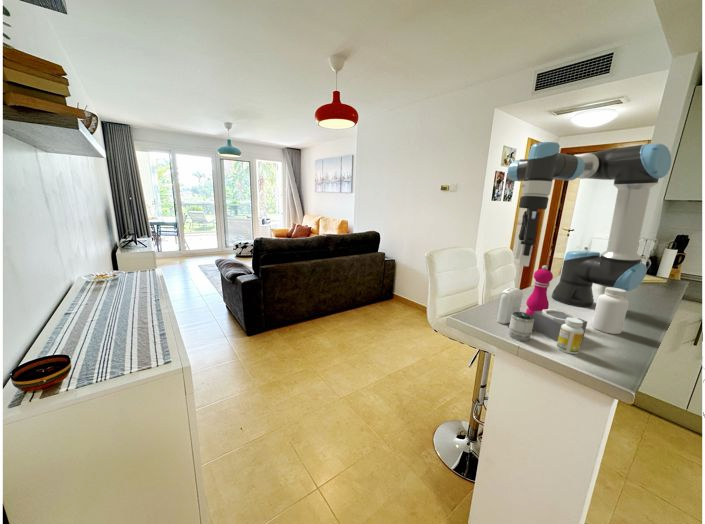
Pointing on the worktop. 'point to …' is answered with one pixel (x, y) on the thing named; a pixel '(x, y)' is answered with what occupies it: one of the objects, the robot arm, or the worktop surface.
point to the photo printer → (508, 304)
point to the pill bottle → (610, 311)
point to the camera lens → (521, 326)
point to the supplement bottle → (570, 336)
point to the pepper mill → (539, 291)
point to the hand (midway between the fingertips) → (521, 262)
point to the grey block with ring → (552, 322)
